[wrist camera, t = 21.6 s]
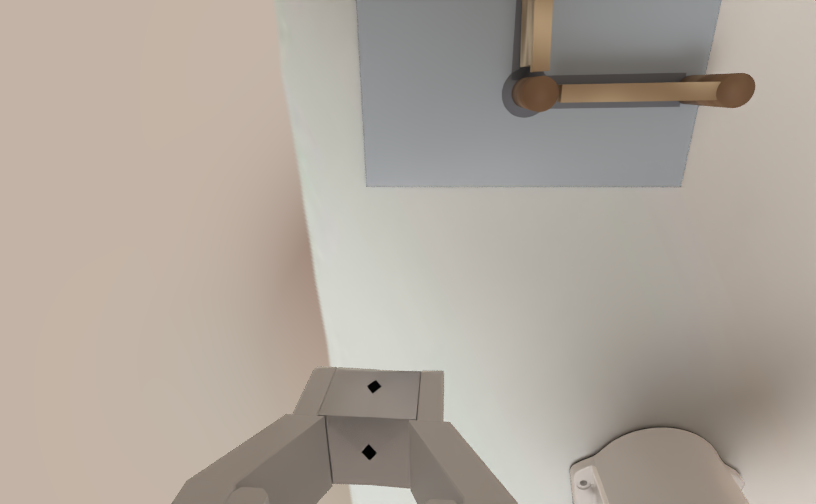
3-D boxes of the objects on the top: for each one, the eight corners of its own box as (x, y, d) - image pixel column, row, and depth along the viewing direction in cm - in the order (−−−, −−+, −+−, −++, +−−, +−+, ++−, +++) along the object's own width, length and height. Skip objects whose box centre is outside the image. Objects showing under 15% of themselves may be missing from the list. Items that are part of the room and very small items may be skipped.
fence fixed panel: (698, 105, 35) (749, 109, 29) (509, 107, 37) (522, 112, 30) (704, 73, 34) (759, 71, 28) (511, 77, 36) (524, 76, 30)
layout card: (679, 186, 38) (681, 187, 37) (367, 185, 40) (366, 186, 40) (754, -162, 29) (758, -165, 29) (349, -136, 31) (348, -138, 31)
